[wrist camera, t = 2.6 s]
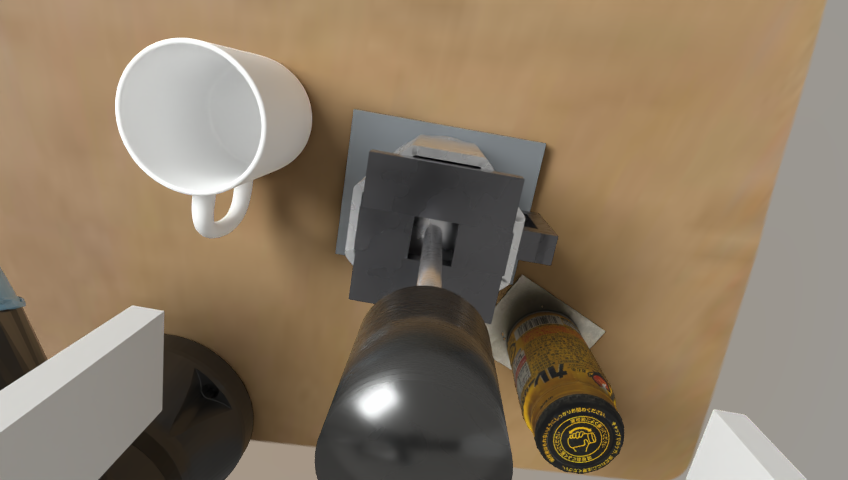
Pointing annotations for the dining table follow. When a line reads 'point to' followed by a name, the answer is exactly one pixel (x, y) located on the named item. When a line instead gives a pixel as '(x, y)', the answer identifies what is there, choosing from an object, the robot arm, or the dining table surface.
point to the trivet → (397, 131)
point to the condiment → (557, 378)
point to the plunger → (418, 385)
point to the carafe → (446, 201)
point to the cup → (210, 122)
